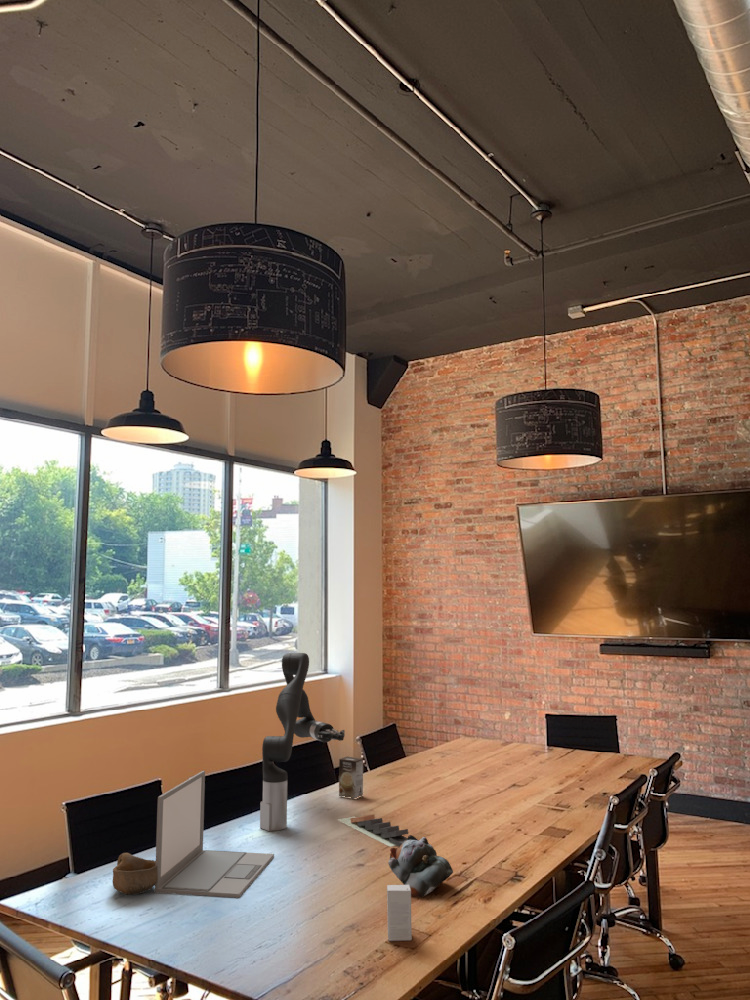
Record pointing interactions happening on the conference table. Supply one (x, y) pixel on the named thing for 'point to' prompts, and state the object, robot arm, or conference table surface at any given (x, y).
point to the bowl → (134, 874)
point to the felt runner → (366, 831)
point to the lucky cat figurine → (419, 866)
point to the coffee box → (350, 777)
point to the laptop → (197, 849)
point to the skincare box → (399, 912)
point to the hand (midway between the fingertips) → (341, 737)
